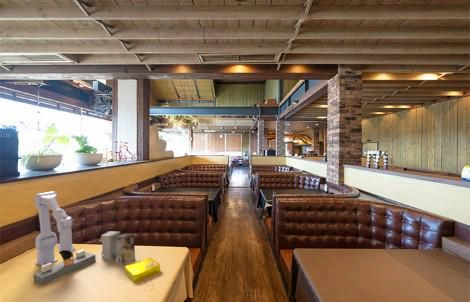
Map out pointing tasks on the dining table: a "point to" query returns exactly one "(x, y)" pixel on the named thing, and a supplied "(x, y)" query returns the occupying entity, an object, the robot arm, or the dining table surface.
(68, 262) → the orange block
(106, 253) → the circuit breaker
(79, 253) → the paddle
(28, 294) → the dining table surface
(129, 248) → the coffee box
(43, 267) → the paddle
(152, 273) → the element tile
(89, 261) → the breaker panel
